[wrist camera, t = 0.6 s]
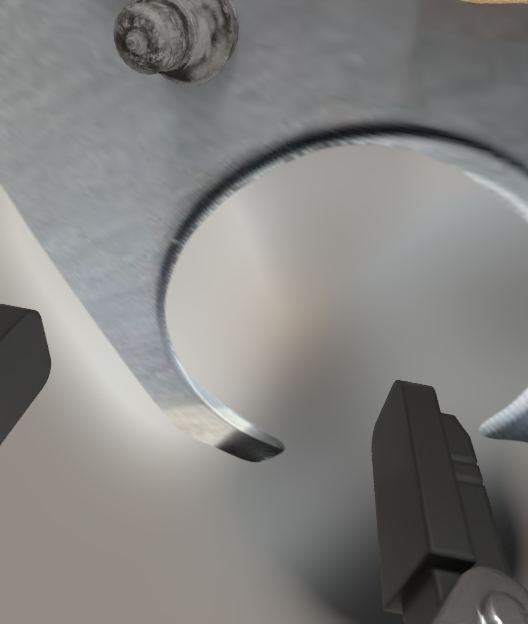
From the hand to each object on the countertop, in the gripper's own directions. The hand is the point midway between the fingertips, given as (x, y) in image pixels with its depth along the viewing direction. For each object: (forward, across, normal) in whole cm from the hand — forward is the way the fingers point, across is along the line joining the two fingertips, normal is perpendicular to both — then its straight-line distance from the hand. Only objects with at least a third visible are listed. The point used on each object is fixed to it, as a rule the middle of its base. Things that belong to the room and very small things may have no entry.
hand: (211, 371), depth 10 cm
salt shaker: (+26, +7, -4) cm, 28 cm away
